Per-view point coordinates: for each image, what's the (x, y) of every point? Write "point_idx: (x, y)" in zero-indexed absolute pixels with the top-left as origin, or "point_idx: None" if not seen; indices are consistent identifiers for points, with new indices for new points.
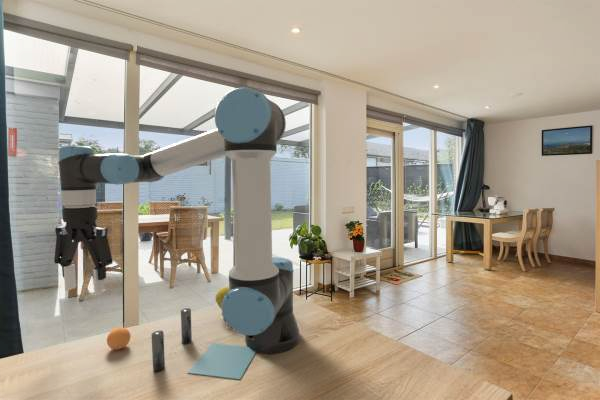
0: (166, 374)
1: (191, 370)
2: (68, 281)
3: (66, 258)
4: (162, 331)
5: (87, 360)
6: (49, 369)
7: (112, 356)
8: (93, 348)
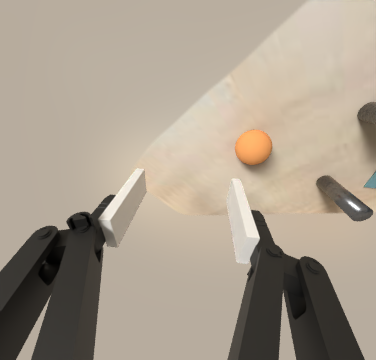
0: None
1: (370, 183)
2: (137, 204)
3: (100, 280)
4: (371, 211)
5: (220, 170)
6: (189, 186)
7: None
8: (209, 145)
